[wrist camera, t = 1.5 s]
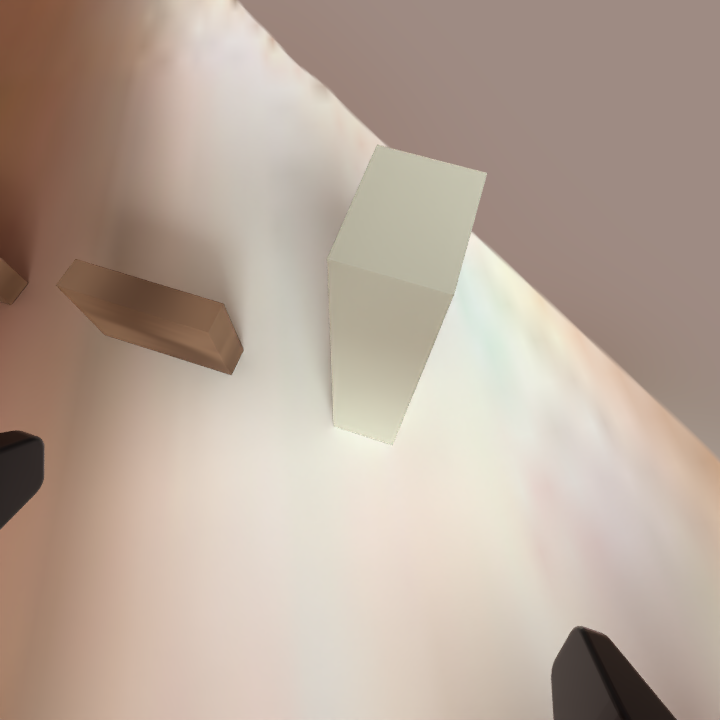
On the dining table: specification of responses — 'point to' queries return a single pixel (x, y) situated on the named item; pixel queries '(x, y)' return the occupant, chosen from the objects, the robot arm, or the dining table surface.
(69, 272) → the walnut slotted plate
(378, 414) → the sage plank
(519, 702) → the dining table surface
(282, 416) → the dining table surface
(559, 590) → the dining table surface
